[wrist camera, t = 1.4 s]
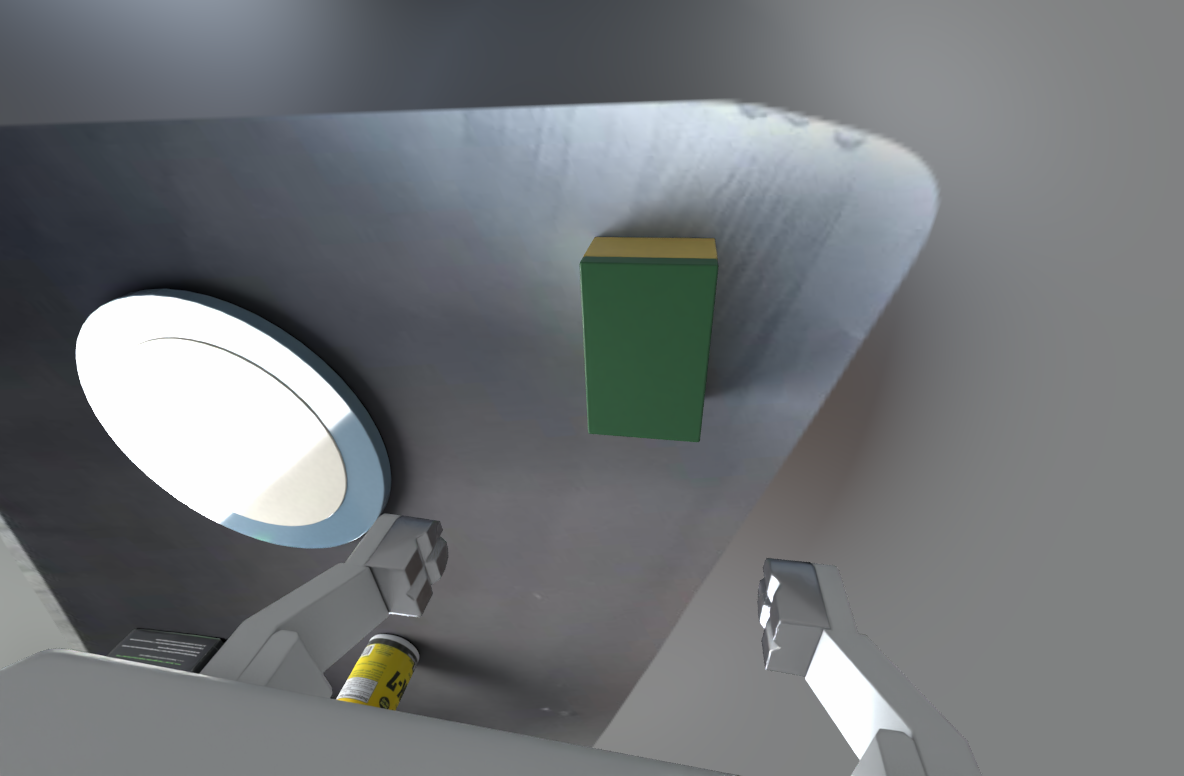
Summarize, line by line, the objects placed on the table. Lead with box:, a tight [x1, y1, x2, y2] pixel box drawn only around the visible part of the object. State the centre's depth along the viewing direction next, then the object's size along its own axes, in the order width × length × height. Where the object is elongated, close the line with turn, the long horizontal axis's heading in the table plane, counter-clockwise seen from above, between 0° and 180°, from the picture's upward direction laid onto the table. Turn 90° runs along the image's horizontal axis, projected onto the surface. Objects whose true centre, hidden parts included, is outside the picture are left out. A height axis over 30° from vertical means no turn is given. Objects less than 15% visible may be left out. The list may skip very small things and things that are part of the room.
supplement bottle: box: [336, 634, 419, 711], centre depth 40 cm, size 5×5×8 cm
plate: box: [76, 289, 391, 549], centre depth 31 cm, size 20×20×1 cm
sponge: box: [580, 237, 718, 442], centre depth 21 cm, size 8×5×3 cm, turn 3°
